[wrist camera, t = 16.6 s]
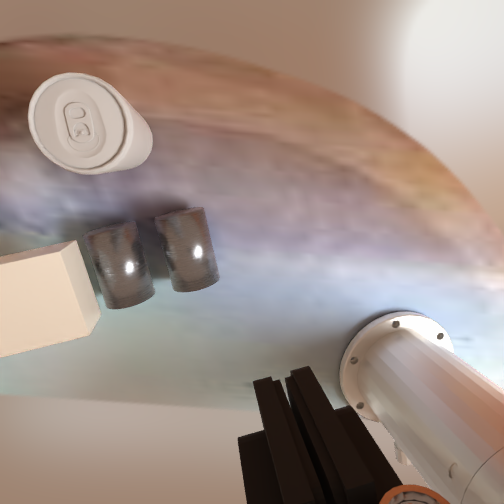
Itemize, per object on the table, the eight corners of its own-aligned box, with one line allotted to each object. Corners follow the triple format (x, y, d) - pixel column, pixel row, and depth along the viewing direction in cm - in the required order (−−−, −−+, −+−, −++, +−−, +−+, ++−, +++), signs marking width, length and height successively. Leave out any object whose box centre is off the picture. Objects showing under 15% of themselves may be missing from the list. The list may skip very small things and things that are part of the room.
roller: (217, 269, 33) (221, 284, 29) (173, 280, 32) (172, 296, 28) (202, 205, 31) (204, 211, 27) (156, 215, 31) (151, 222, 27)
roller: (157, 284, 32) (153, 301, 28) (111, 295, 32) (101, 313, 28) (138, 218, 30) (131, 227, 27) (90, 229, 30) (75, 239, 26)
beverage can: (97, 173, 29) (39, 181, 18) (83, 109, 28) (10, 73, 16) (158, 165, 30) (140, 169, 18) (147, 103, 28) (120, 64, 17)
